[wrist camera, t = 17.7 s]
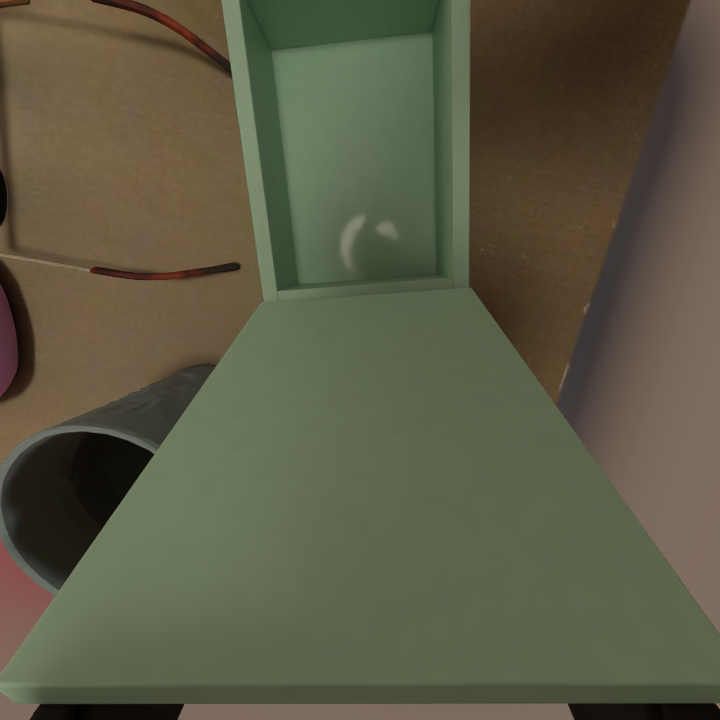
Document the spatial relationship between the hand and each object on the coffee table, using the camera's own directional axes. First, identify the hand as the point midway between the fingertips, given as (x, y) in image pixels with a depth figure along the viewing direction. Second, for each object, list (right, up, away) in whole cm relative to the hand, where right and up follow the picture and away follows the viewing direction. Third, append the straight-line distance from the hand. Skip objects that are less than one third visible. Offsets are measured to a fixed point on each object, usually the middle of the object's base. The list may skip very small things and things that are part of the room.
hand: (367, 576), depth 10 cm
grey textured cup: (-11, +1, +18) cm, 22 cm away
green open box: (0, +17, +13) cm, 22 cm away
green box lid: (0, +5, +2) cm, 5 cm away
